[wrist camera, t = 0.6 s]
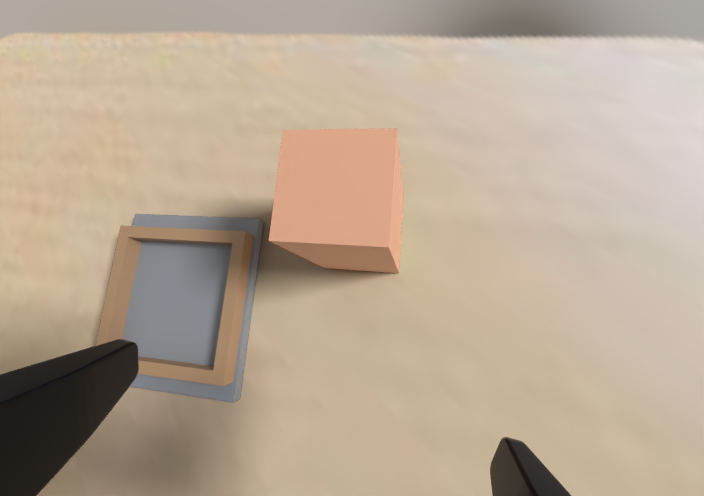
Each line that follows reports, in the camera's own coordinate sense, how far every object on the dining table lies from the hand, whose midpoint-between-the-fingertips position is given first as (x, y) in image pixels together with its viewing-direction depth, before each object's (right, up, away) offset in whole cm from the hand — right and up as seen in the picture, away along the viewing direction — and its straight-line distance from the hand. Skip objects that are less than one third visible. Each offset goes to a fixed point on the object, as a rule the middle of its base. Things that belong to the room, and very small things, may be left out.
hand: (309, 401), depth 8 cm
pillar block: (+2, +5, +15) cm, 15 cm away
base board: (-11, 0, +16) cm, 19 cm away
